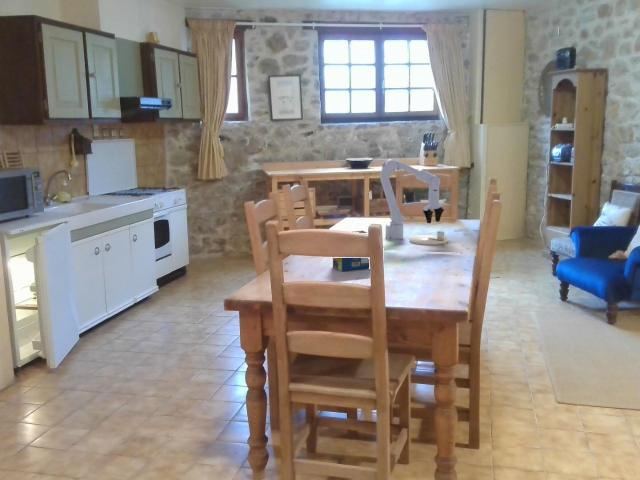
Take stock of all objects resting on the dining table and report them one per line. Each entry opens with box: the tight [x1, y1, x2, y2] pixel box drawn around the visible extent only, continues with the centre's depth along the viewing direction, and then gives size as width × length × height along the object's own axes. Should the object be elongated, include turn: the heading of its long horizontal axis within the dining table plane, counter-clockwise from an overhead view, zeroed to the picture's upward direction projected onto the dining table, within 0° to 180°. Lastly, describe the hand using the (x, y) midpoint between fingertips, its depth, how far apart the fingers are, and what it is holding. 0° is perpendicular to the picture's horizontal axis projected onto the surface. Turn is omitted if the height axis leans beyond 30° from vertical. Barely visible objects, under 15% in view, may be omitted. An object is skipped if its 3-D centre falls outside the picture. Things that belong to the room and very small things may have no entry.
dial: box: [408, 231, 449, 246], centre depth 321 cm, size 20×20×6 cm
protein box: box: [332, 230, 369, 272], centre depth 269 cm, size 10×15×16 cm
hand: (433, 222), depth 332 cm, fingers open, 7 cm apart
